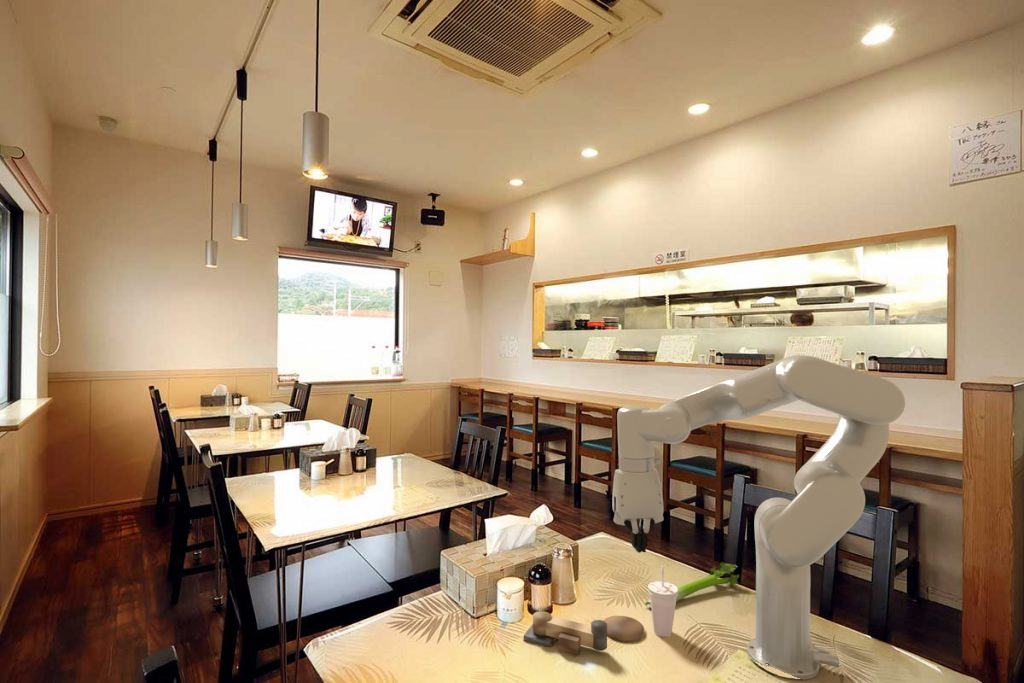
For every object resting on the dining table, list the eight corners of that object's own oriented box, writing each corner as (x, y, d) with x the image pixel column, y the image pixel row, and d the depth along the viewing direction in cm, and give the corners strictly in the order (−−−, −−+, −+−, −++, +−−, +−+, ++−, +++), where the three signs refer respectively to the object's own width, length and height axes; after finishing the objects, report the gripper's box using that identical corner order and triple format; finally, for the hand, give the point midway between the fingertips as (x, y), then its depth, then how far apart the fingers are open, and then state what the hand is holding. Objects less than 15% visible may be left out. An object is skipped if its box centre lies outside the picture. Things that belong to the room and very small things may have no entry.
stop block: (580, 651, 104) (580, 636, 104) (577, 656, 102) (577, 641, 102) (561, 646, 106) (561, 631, 106) (558, 651, 104) (558, 636, 104)
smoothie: (674, 625, 114) (674, 562, 114) (681, 641, 108) (681, 574, 108) (645, 623, 115) (645, 560, 115) (650, 639, 108) (650, 573, 108)
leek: (640, 612, 123) (722, 575, 138) (662, 630, 117) (745, 589, 132) (641, 589, 123) (723, 554, 138) (663, 606, 117) (746, 567, 132)
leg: (529, 632, 108) (529, 611, 108) (537, 623, 112) (537, 603, 112) (603, 653, 101) (604, 631, 101) (609, 642, 105) (609, 621, 105)
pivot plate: (560, 632, 111) (560, 628, 111) (550, 647, 105) (550, 642, 105) (534, 626, 113) (534, 621, 113) (523, 640, 108) (523, 635, 108)
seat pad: (647, 624, 114) (647, 621, 114) (639, 646, 106) (639, 642, 106) (607, 615, 118) (607, 612, 118) (597, 635, 110) (597, 631, 110)
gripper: (663, 459, 115) (666, 541, 114) (598, 462, 113) (601, 545, 113) (677, 466, 107) (680, 554, 107) (607, 470, 106) (610, 559, 105)
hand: (639, 549), depth 110 cm, fingers closed
